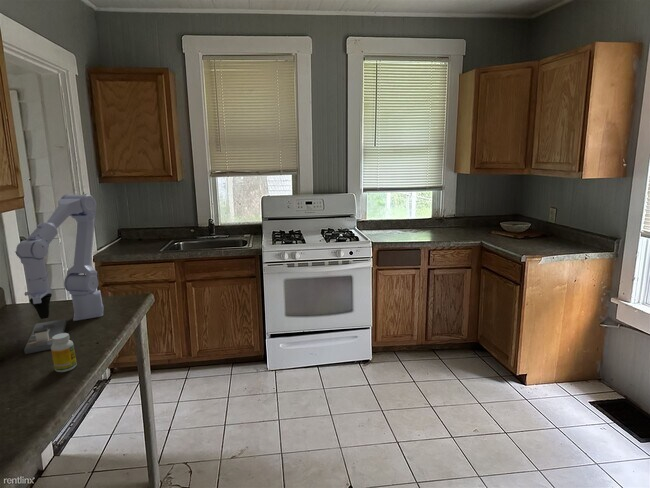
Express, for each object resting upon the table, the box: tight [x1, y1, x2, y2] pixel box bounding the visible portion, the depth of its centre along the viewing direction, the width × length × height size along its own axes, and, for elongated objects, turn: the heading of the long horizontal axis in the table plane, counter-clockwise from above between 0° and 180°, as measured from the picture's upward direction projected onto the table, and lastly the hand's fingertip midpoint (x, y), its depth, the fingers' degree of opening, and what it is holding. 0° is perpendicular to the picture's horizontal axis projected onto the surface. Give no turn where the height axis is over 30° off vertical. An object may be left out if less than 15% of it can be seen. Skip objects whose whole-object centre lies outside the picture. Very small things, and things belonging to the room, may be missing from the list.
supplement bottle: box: [50, 332, 78, 373], centre depth 120 cm, size 5×5×10 cm
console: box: [23, 318, 68, 355], centre depth 142 cm, size 9×22×3 cm, turn 25°
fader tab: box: [34, 327, 49, 342], centre depth 134 cm, size 3×3×4 cm
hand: (44, 317), depth 141 cm, fingers closed
